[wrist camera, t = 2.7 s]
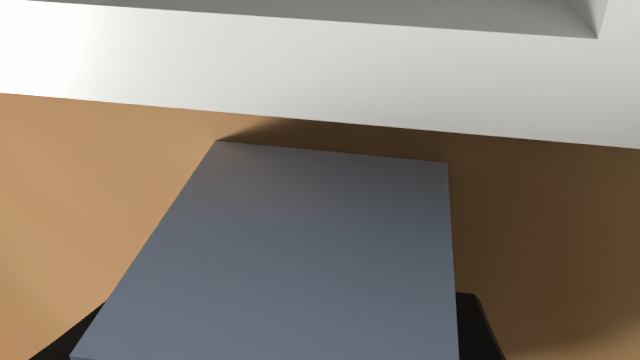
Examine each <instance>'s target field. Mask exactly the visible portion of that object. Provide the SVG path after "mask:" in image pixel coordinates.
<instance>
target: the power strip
mask: <svg viewBox="0 0 640 360" xmlns="http://www.w3.org/2000/svg"><path fill="white" fill-rule="evenodd" d="M0 92H2V93H13V94H24V95H36V96H47V97H58V98H69V99H81V100H92V101H103V102H115V103H126V104H137V105H149V106H160V107H171V108H183V109H194V110H205V111H217V112H228V113H239V114H251V115H262V116H273V117H284V118H296V119H307V120H318V121H330V122H341V123H352V124H364V125H375V126H386V127H398V128H409V129H420V130H432V131H443V132H454V133H465V134H477V135H488V136H499V137H511V138H522V139H533V140H545V141H556V142H567V143H579V144H590V145H601V146H613V147H624V148H635V149H640V0H0Z"/></svg>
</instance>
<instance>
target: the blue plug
mask: <svg viewBox="0 0 640 360" xmlns="http://www.w3.org/2000/svg"><path fill="white" fill-rule="evenodd" d="M69 357H70V360H459V349H458V332H457V315H456V299H455V282H454V265H453V249H452V232H451V215H450V199H449V182H448V165H447V163H446V162H435V161H425V160H415V159H404V158H394V157H383V156H373V155H362V154H352V153H341V152H331V151H320V150H310V149H300V148H289V147H279V146H268V145H258V144H247V143H237V142H226V141H216V140H215V142H214V143H213V145H212V146H211V148H210V149H209V151H208V152H207V153H206V155H205V156H204V158H203V159H202V161H201V162H200V164H199V165H198V167H197V168H196V170H195V171H194V173H193V174H192V176H191V177H190V179H189V180H188V181H187V183H186V184H185V186H184V187H183V189H182V190H181V192H180V193H179V195H178V196H177V198H176V199H175V201H174V202H173V204H172V205H171V207H170V208H169V209H168V211H167V212H166V214H165V215H164V217H163V218H162V220H161V221H160V223H159V224H158V226H157V227H156V229H155V230H154V232H153V233H152V235H151V236H150V237H149V239H148V240H147V242H146V243H145V245H144V246H143V248H142V249H141V251H140V252H139V254H138V255H137V257H136V258H135V260H134V261H133V263H132V264H131V265H130V267H129V268H128V270H127V271H126V273H125V274H124V276H123V277H122V279H121V280H120V282H119V283H118V285H117V286H116V288H115V289H114V291H113V292H112V293H111V295H110V296H109V298H108V299H107V301H106V302H105V304H104V305H103V307H102V308H101V310H100V311H99V313H98V314H97V316H96V317H95V318H94V320H93V321H92V323H91V324H90V326H89V327H88V329H87V330H86V332H85V333H84V335H83V336H82V338H81V339H80V341H79V342H78V344H77V345H76V346H75V348H74V349H73V351H72V352H71V354H70V355H69Z"/></svg>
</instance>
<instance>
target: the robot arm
mask: <svg viewBox="0 0 640 360" xmlns="http://www.w3.org/2000/svg"><path fill="white" fill-rule="evenodd" d="M455 299H456V315H457V332H458V349H459V360H506V359H505V357H504V355H503V353H502V351H501V349H500V347H499V345H498V343H497V341H496V338H495V336H494V334H493V332H492V330H491V327H490V325H489V323H488V320H487V318H486V315H485V313H484V311H483V308H482V305H481V303H480V300H479V299H478V298H477V297H476V296H475V294H469V293H461V292H455ZM106 301H107V300H106ZM106 301H105V302H106ZM105 302H104V303H103V304H101V305H100V306H99V307H98V308H96V309H95V310H94V311H93V312H91V313H90V314H89V315H87V316H86V317H85V318H84V319H82V320H81V321H80V322H78V323H77V324H76V325H75V326H73V327H72V328H71V329H69V330H68V331H67V332H66V333H64V334H63V335H62V336H61V337H59V338H58V339H57V340H55V341H54V342H53V343H51V344H50V345H48V346H47V347H46V348H44V349H43V350H41V351H40V352H39V353H37V354H36V355H34V356H33V357H32V358H30V359H29V360H70V357H69V355H70V354H71V352H72V351H73V349H74V348H75V346H76V345H77V344H78V342H79V341H80V339H81V338H82V336H83V335H84V333H85V332H86V330H87V329H88V327H89V326H90V324H91V323H92V321H93V320H94V318H95V317H96V316H97V314H98V313H99V311H100V310H101V308H102V307H103V305H104V304H105Z"/></svg>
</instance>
